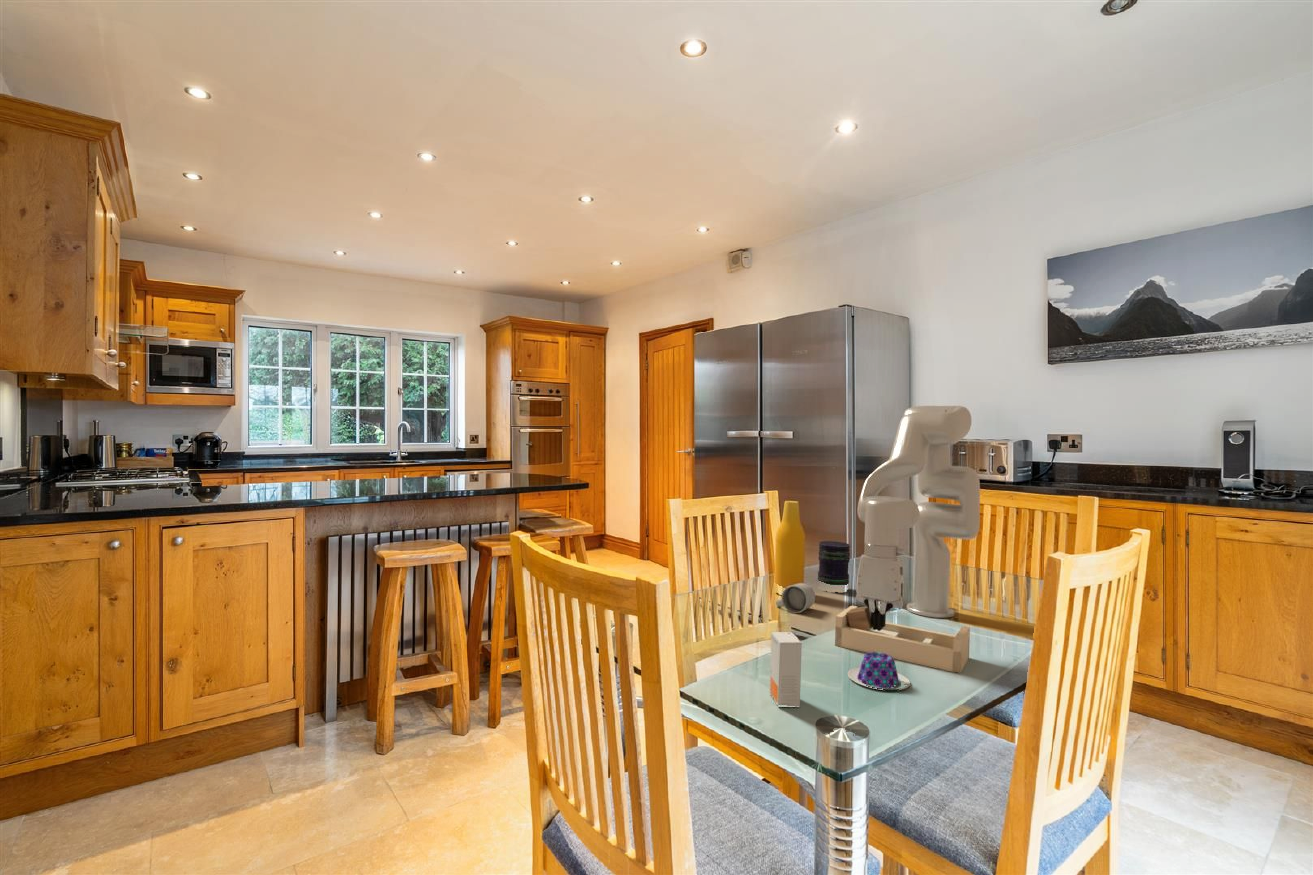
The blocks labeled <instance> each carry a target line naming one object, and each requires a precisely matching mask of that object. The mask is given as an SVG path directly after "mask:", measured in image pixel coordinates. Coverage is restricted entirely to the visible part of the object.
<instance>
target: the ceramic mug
mask: <svg viewBox="0 0 1313 875" xmlns="http://www.w3.org/2000/svg"><path fill="white" fill-rule="evenodd" d="M815 601H816V593H815V591H814V589H813V588H812V587H811V586H810V585H809V584H806V583H804V584H803V583H799V584H795V585H791V586H788V587H787V588H786V589H785V590H784V591H783V593H782V596H781V599H778V600H775V605H776V607H778V608H779V607H782V606H783V607H784V609H786V610H787V611H788V612H790V613H792V614H800V613H802V612H804V611H806V610H808V609H809V608H810V607H812V606H813V605H814V603H815Z"/></svg>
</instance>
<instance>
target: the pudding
mask: <svg viewBox="0 0 1313 875" xmlns="http://www.w3.org/2000/svg"><path fill="white" fill-rule="evenodd" d="M861 660H862V661H861V664H860V666H859V667H854V668H851V669H849V670H848V672H847V677H848V678H849V679H850V680H852V681H853V682H855V683H856V684H858V685H861V686H864V687H867V688H870V689H874V690H875V689H876V690H878V689H877V688H876V687H875V688H872V687H873V686H871V685H874V686H877V687H889V688H888V689H892V688H891V687H894V685H899V684H900V682H899V679H900V681H904V682H905V684H904V685H907V686H905V687H904V688H901V689H899V690H898V691H900V690H904V689H907V688H909V686H910V685H911V683H910V682H911V681H910V680H909V679H908V678H907V677H906V676H904V675H903V674H901V673H898V670H897V665H896V661H895V659H893V658H892V657H891V656H890V655H887V654H885V653H878V652H872V653H871V652H868V653H866V652H865V655H863V658H862V659H861ZM898 678H899V679H898ZM859 681H860V682H859ZM866 685H868V686H871V687H868V686H866ZM899 686H900V685H899ZM883 689H884V688H882V689H879V690H881V691H884V690H883Z"/></svg>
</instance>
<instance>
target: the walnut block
mask: <svg viewBox="0 0 1313 875" xmlns="http://www.w3.org/2000/svg"><path fill="white" fill-rule="evenodd" d="M846 614H847V618H848V621H849V624H850V628H855V629H859V630H870V629H871V628H872V627H873V625H871V612H870V610H869V608H868V607H867V606H861V607H860V606H859V607H858V608H853V609H851V610H849V611H848V612H847V613H846Z"/></svg>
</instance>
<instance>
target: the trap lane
mask: <svg viewBox="0 0 1313 875" xmlns="http://www.w3.org/2000/svg"><path fill="white" fill-rule="evenodd" d="M853 608H859V607H858V606H856V605H850V606H849V607H847V608H846V609H844V610H843V611H841V612H840V613H838V614H837V615H836V616H835V629H834V630H835V631H834V632H835V633H834V634H835V638H834V646H836V647H840V648H845V649H849V650H853V651H858V652H863V653H865V654H866V653H868V652H871V653H872V652H878V653H885V654H887V655H890V656H891V657H892V658H893V659H894V660H897V661H898V660H899V661H902V662H907V663H911V664H917V665H919V666H920V665H921V666H925V667H931V668H934V669H938V668H939V669H938V670H943V671H947V672H953V673H956V672H958V673H957V674H961V673H962V671H963V670H964V668H965V665H967V663H968V660H969V658H970V643H971V642H970V637H971V636H970V635H971V634H970V633H971V627H970V626H967V625H962V626H961V628H960V629H959V630H958V631H957V634H956V635H955V634H950V633H945V632H939V631H935V630H930V629H924V628H920V627H919V628H918V627H914V626H909V625H904V624H899V623H893V622H888V621H886V622H885V627H883V629H882V630H880V631H878V630H877V629H876V630H873V627H872V628H871V629H870V630H859V629H855V628H850V624H849V621H848V618H847V614H846V613H847V612H848V611H849V610H851V609H853Z"/></svg>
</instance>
